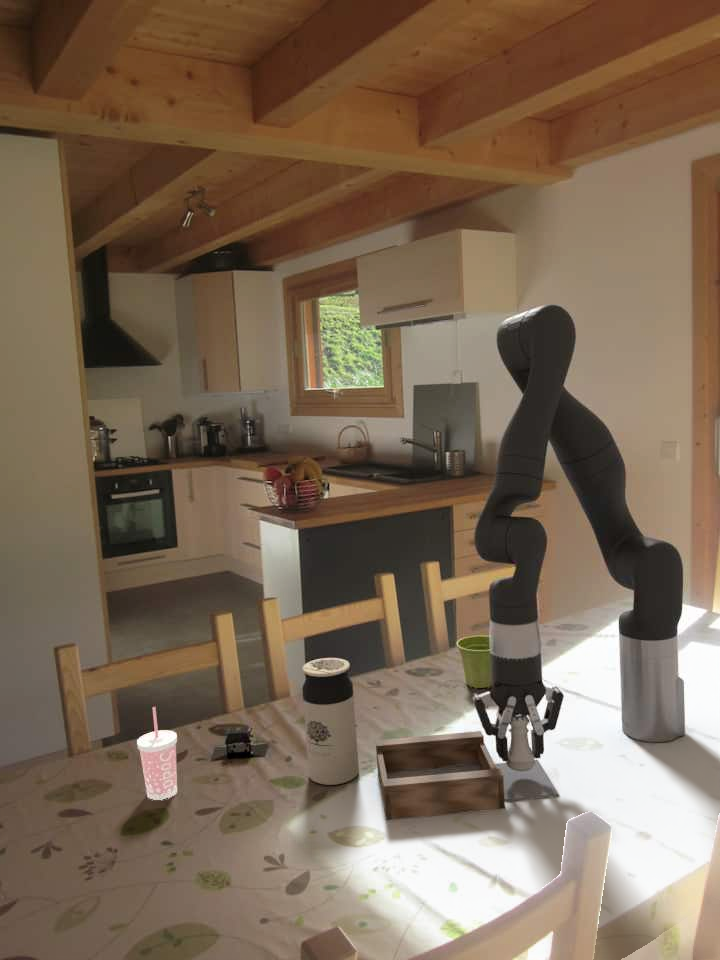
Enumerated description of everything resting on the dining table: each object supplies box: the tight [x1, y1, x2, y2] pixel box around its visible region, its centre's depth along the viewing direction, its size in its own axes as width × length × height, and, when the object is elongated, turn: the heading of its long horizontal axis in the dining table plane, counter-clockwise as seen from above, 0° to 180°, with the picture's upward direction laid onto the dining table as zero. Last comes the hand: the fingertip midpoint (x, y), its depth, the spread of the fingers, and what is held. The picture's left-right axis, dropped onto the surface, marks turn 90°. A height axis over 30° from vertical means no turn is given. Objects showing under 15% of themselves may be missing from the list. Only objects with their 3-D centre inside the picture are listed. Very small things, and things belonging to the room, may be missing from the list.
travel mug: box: [301, 657, 360, 786], centre depth 124 cm, size 8×8×18 cm
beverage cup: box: [136, 706, 178, 801], centre depth 122 cm, size 6×6×14 cm
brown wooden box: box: [375, 730, 506, 821], centre depth 118 cm, size 17×15×5 cm
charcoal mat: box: [494, 759, 560, 802], centre depth 119 cm, size 8×11×1 cm
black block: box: [210, 725, 269, 762], centre depth 135 cm, size 12×7×5 cm, turn 91°
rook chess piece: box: [505, 715, 536, 771], centre depth 118 cm, size 4×4×8 cm
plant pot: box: [456, 635, 491, 689], centre depth 159 cm, size 9×9×9 cm
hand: (520, 757), depth 118 cm, fingers closed on rook chess piece, 4 cm apart
